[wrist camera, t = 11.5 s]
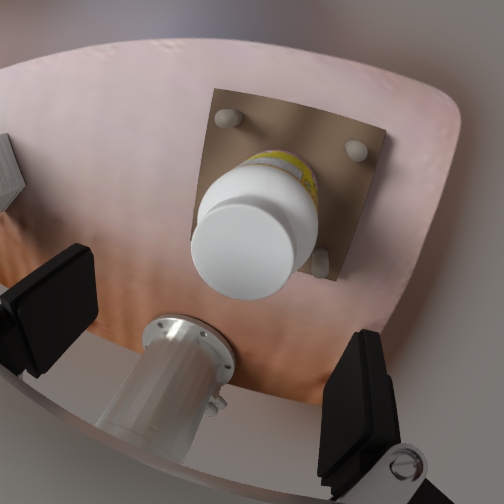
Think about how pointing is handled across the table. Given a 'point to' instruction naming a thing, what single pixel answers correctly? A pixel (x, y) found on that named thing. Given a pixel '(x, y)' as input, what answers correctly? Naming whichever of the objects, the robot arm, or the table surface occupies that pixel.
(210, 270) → the supplement bottle
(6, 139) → the supplement box
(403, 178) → the table surface
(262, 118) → the board
